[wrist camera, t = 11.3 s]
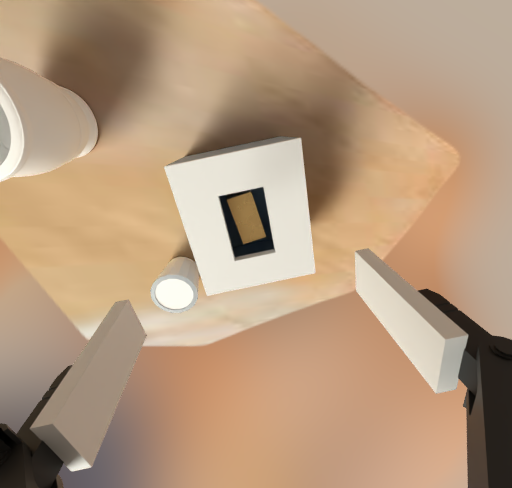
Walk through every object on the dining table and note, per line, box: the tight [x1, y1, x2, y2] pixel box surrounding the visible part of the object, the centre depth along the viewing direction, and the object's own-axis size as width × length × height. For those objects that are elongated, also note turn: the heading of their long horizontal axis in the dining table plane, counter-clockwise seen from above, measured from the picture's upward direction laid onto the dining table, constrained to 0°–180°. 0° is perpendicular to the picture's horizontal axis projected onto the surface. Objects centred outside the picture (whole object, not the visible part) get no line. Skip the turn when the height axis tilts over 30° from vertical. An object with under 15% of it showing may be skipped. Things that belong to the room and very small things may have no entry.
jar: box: [0, 58, 98, 182], centre depth 26 cm, size 11×10×15 cm
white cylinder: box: [150, 257, 199, 313], centre depth 40 cm, size 7×7×7 cm
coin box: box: [164, 136, 315, 296], centre depth 34 cm, size 16×14×12 cm
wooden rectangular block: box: [227, 189, 266, 244], centre depth 34 cm, size 6×3×9 cm, turn 18°
